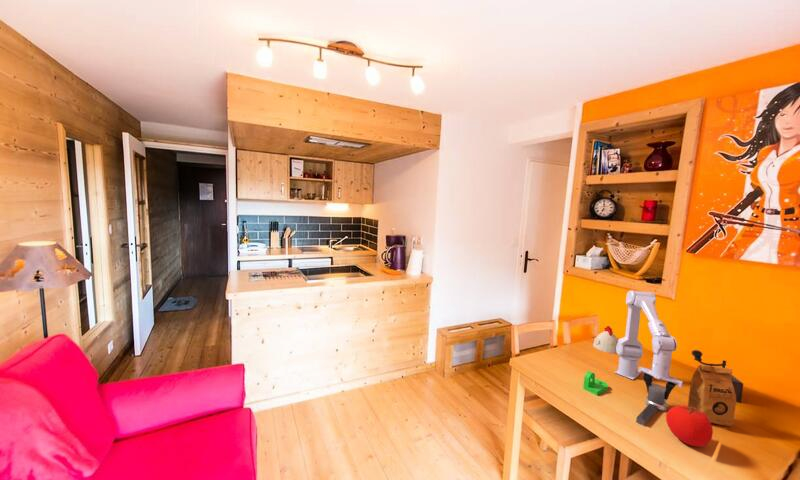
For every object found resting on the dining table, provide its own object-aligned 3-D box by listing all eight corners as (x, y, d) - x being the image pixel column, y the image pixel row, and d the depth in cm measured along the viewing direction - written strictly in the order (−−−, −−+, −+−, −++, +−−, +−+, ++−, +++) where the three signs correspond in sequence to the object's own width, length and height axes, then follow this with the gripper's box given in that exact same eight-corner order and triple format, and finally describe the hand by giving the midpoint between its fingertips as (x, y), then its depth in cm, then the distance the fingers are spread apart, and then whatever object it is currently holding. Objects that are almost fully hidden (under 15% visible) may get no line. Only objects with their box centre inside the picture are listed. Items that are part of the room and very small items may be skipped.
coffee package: (737, 431, 122) (746, 375, 120) (697, 423, 125) (704, 369, 123) (720, 415, 131) (728, 363, 129) (683, 408, 135) (690, 358, 133)
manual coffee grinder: (726, 391, 150) (732, 354, 149) (741, 404, 140) (747, 364, 138) (685, 383, 156) (690, 348, 154) (697, 395, 145) (702, 357, 144)
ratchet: (648, 399, 140) (650, 387, 140) (668, 407, 135) (670, 395, 134) (629, 419, 126) (630, 405, 125) (651, 429, 120) (653, 415, 120)
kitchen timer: (598, 354, 185) (601, 329, 183) (588, 344, 198) (591, 321, 197) (625, 357, 183) (628, 331, 181) (613, 347, 196) (616, 323, 195)
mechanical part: (596, 395, 142) (598, 378, 141) (583, 389, 147) (584, 372, 146) (610, 388, 148) (612, 372, 148) (596, 382, 153) (598, 366, 153)
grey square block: (650, 395, 139) (652, 382, 138) (666, 401, 135) (667, 387, 134) (647, 399, 136) (649, 386, 135) (662, 405, 131) (664, 391, 131)
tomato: (714, 445, 113) (718, 411, 112) (705, 458, 106) (710, 423, 105) (670, 425, 123) (674, 394, 122) (659, 436, 116) (663, 403, 115)
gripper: (637, 359, 137) (633, 390, 138) (681, 374, 126) (677, 407, 127) (642, 355, 141) (639, 385, 143) (685, 369, 130) (681, 401, 131)
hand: (657, 395), depth 135 cm, fingers closed on grey square block, 5 cm apart
